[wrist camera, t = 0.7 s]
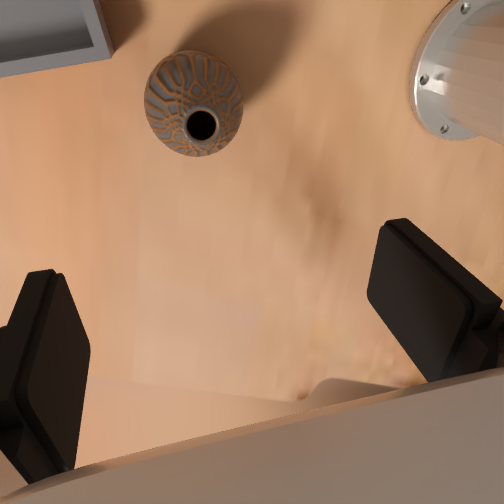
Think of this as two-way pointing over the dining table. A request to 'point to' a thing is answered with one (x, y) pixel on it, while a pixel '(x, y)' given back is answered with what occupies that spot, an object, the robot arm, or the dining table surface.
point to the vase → (193, 103)
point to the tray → (51, 35)
